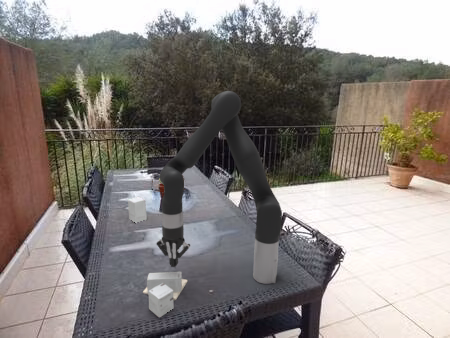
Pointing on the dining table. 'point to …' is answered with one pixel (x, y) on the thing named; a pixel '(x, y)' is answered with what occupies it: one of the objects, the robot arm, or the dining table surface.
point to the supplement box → (137, 209)
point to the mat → (175, 294)
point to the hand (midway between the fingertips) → (173, 265)
